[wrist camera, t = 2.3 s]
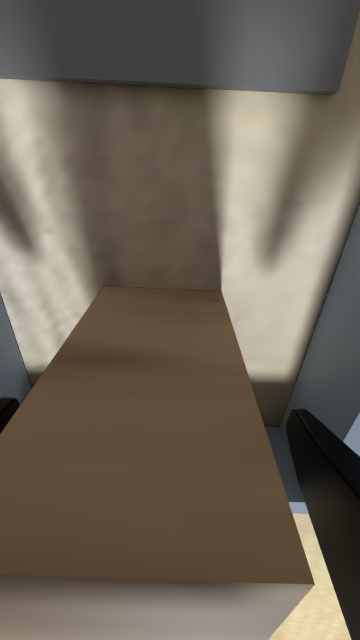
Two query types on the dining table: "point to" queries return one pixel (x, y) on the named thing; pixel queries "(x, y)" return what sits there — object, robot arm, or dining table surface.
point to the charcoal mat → (180, 43)
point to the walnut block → (145, 484)
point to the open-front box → (314, 378)
